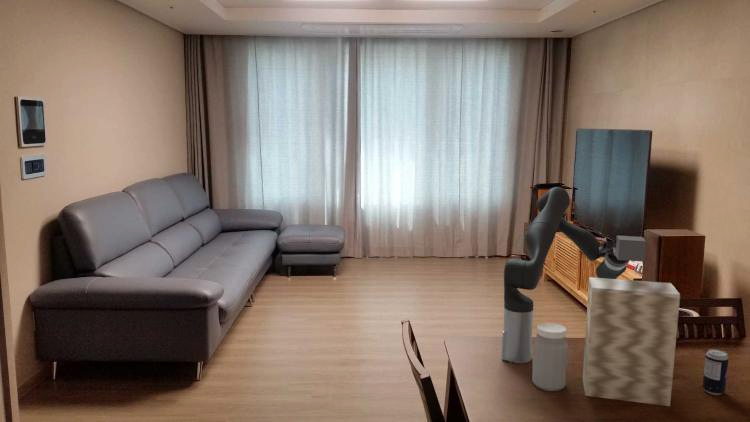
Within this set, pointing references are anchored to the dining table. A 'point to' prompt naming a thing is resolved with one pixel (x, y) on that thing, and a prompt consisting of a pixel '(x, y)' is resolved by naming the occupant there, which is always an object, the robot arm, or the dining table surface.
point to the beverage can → (715, 371)
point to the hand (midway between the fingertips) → (625, 241)
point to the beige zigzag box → (630, 340)
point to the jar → (550, 357)
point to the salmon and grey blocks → (630, 248)
